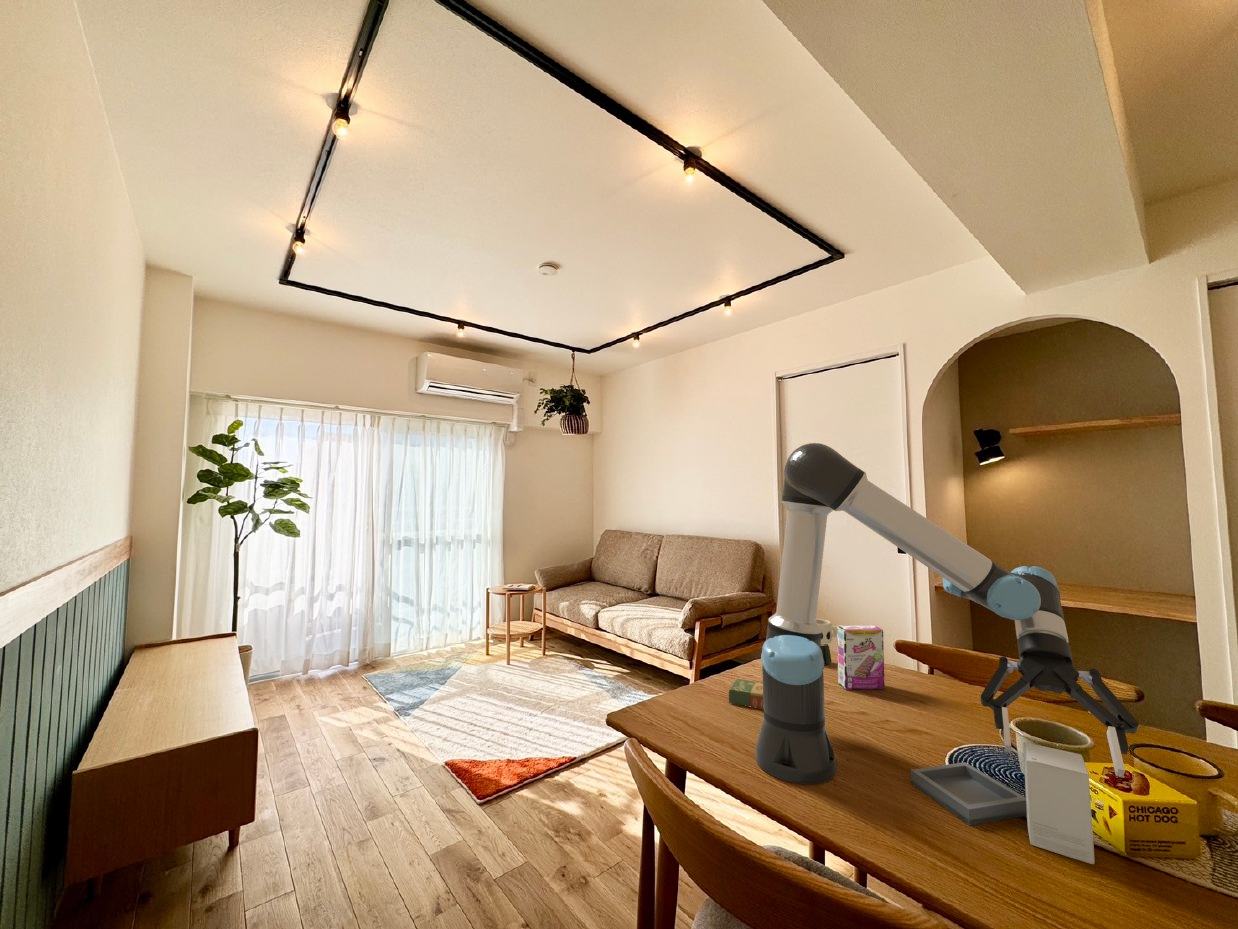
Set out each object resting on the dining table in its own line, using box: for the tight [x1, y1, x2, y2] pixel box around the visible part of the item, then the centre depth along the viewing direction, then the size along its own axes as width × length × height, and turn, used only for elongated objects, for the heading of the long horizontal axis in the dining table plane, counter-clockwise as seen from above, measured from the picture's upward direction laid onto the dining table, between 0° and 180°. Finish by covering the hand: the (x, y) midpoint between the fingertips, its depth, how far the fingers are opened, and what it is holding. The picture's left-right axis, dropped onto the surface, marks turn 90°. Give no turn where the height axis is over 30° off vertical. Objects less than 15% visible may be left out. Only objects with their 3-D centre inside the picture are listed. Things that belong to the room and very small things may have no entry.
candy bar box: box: [836, 624, 885, 691], centre depth 139 cm, size 11×5×16 cm, turn 92°
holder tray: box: [910, 761, 1027, 826], centre depth 87 cm, size 12×12×2 cm
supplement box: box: [1023, 741, 1095, 865], centre depth 76 cm, size 7×7×13 cm
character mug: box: [816, 618, 837, 665], centre depth 159 cm, size 11×7×13 cm, turn 93°
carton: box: [728, 678, 763, 710], centre depth 128 cm, size 8×16×4 cm, turn 64°
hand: (1061, 760), depth 80 cm, fingers open, 13 cm apart
